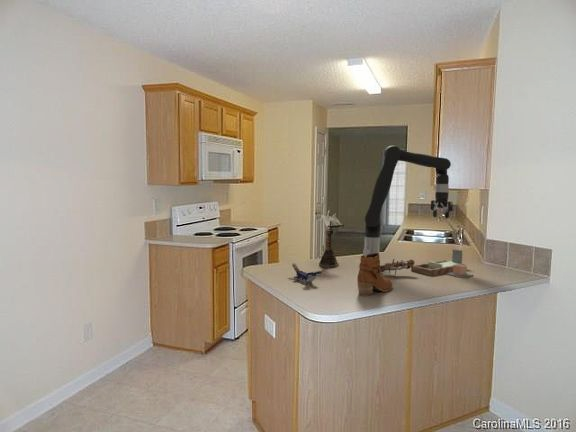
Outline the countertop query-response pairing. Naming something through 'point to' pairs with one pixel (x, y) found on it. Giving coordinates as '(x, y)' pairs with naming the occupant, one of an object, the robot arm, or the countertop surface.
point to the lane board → (431, 269)
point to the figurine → (397, 265)
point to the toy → (305, 275)
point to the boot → (371, 276)
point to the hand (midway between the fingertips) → (440, 217)
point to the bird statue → (329, 241)
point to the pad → (459, 275)
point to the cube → (459, 269)
